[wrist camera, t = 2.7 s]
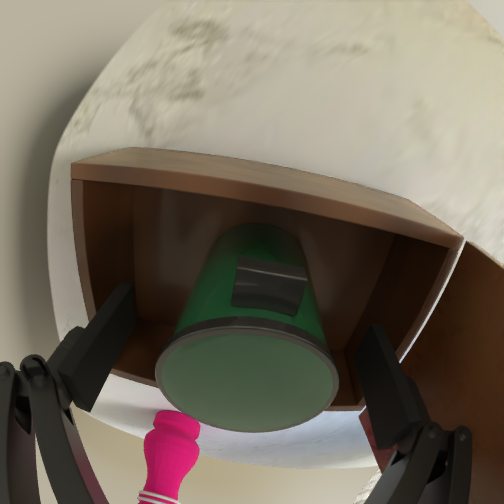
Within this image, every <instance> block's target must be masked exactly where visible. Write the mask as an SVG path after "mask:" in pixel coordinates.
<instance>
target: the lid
mask: <svg viewBox="0 0 504 504" xmlns="http://www.w3.org/2000/svg"><path fill="white" fill-rule="evenodd" d="M400 365H401V368H402V370H403V372H404V375H405V377H407V376H410V377H411V378H412V379H413V380H414V382H415V383H416V385H417V387H418V389H419V393H420V394H421V396H422V399H423V401H424V404H425V406H426V409H427V411H428V414H429V417H430V419H431V421H433V422H437V423H438V424H439V425H440V426H441V427H442V429H443V430H449V431H454V430H455V429H456V428H457V427H459V426H466V427H467V428H468V429H469V430H470V431H471V433H472V472H471V484H470V494H469V501H468V504H504V265H503V264H502V263H500V262H499V261H498V260H496V259H495V258H494V257H493V256H491V255H490V254H489V253H487V252H486V251H485V250H483V249H482V248H480V247H479V246H478V245H476V244H475V243H473V242H469V241H466V243H465V245H464V248H463V250H462V253H461V255H460V257H459V260H458V262H457V264H456V267H455V269H454V271H453V273H452V275H451V277H450V279H449V282H448V284H447V286H446V288H445V290H444V292H443V294H442V296H441V297H440V299H439V301H438V303H437V305H436V307H435V309H434V311H433V312H432V314H431V316H430V318H429V319H428V321H427V323H426V324H425V326H424V328H423V330H422V331H421V333H420V334H419V336H418V338H417V339H416V341H415V342H414V344H413V345H412V347H411V349H410V350H409V352H408V353H407V355H406V356H405V358H404V359H403V360H402V362H401V363H400ZM359 419H360V421H361V424H362V426H363V429H364V431H365V434H366V436H367V438H368V441H369V443H370V446H371V448H372V451H373V453H374V456H375V458H376V461H377V464H378V466H379V469H380V471H381V474H383V472H384V470H385V468H386V467H387V465H388V463H389V461H390V459H391V457H392V456H391V457H390V458H388V459H387V457H388V455H390V454H391V453H392V452H393V451H395V450H396V449H397V448H398V446H397V443H396V444H395V445H394V446H393V447H391V448H390V449H385V450H379V451H377V448H376V443H375V439H374V435H373V431H372V426H371V422H370V418H369V414H368V410H367V407H366V408H365V410H364V411H363V412H362V413H361V414H360V415H359ZM446 466H447V462H446Z"/></svg>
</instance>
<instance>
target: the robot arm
mask: <svg viewBox="0 0 504 504" xmlns="http://www.w3.org/2000/svg"><path fill="white" fill-rule="evenodd" d="M136 324H137V319H136V309H135V298H134V285H133V284H129V283H125V282H120V284H119V285H118V286H117V287H116V289H115V290H114V291H113V292H112V294H111V295H110V296H109V298H108V299H107V300H106V301H105V303H104V304H103V305H102V307H101V308H100V309H99V310H98V312H97V313H96V314H95V316H94V317H93V318H92V320H91V321H90V322H89V324H88V325H87V327H86V328H82V327H79V326H77V327H75V328H73V329H72V330H70V331H69V332H68V334H67V335H66V336H65V337H64V340H62V342H61V343H60V345H59V346H58V347H57V348H56V350H55V351H54V353H53V354H52V355H51V357H50V358H49V360H48V361H47V362H45V360H44V359H43V358H42V357H41V356H39V355H29V356H27V357H25V358H24V359H23V360H22V362H21V364H20V370H21V371H17V370H15V368H14V366H13V365H12V364H11V363H9V362H6V361H5V362H0V504H41V502H40V496H39V488H38V480H37V470H36V450H35V433H36V437H37V441H38V445H39V449H40V453H41V456H42V460H43V463H44V466H45V470H46V473H47V476H48V479H49V481H50V484H51V487H52V490H53V492H54V495H55V497H56V500H57V502H58V504H109V502H108V501H107V499H106V497H105V495H104V493H103V491H102V489H101V487H100V485H99V483H98V480H97V478H96V477H95V474H94V472H93V469H92V467H91V465H90V462H89V460H88V457H87V455H86V452H85V450H84V447H83V444H82V442H81V439H80V436H79V433H78V430H77V427H76V424H75V421H74V417H73V414H72V410H71V408H70V404H71V402H72V400H73V402H74V404H75V405H76V407H78V408H80V409H83V410H85V411H87V412H91V410H92V408H93V405H94V403H95V401H96V399H97V397H98V395H99V393H100V391H101V389H102V387H103V385H104V383H105V381H106V379H107V377H108V375H109V373H110V372H111V370H112V368H113V366H114V364H115V362H116V360H117V358H118V356H119V355H120V353H121V351H122V349H123V347H124V345H125V344H126V342H127V340H128V338H129V336H130V335H131V333H132V331H133V329H134V327H135V326H136ZM353 360H354V364H355V367H356V370H357V374H358V377H359V381H360V384H361V388H362V392H363V395H364V399H365V403H366V407H367V410H368V414H369V418H370V422H371V426H372V431H373V435H374V439H375V443H376V448H377V451H379V450H385V449H390V448H391V447H393V446H394V445H395V444H396V443H397V446H398V448H397V449H396V450H395V451H393V452H392V453H391V454H390V455H388V457H387V459H388V458H390V457H391V456H392V457H391V459H390V461H389V463H388V465H387V467H386V468H385V470H384V472H383V474H382V475H381V477H380V479H379V480H378V482H377V484H376V485H375V487H374V488H373V490H372V492H371V493H370V495H369V496H368V498H367V499H366V501H365V502H364V504H468V501H469V494H470V484H471V472H472V433H471V431H470V430H469V429H468V428H467V427H466V426H459V427H457V428H456V429H455V430H454V431H449V430H443V429H442V427H441V426H440V425H439V424H438V423H437V422H433V421H431V419H430V417H429V414H428V411H427V409H426V406H425V404H424V401H423V399H422V396H421V394H420V393H419V389H418V387H417V385H416V383H415V382H414V380H413V379H412V378H411V377H410V376H407V377H405V375H404V372H403V370H402V368H401V365H400V363H399V361H398V359H397V356H396V354H395V352H394V350H393V347H392V345H391V343H390V341H389V339H388V337H387V334H386V332H385V330H384V328H383V326H382V325H378V324H370V326H369V328H368V330H367V332H366V334H365V336H364V338H363V340H362V342H361V343H360V345H359V347H358V349H357V351H356V352H355V354H354V356H353ZM446 462H447V466H446Z"/></svg>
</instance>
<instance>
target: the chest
mask: <svg viewBox="0 0 504 504" xmlns="http://www.w3.org/2000/svg"><path fill="white" fill-rule="evenodd" d="M71 204H72V219H73V231H74V241H75V249H76V257H77V264H78V270H79V276H80V282H81V287H82V292H83V297H84V302H85V307H86V311H87V315H88V319H89V322H90V321H91V320H92V318H93V317H94V316H95V314H96V313H97V312H98V310H99V309H100V308H101V307H102V305H103V304H104V303H105V301H106V300H107V299H108V298H109V296H110V295H111V294H112V292H113V291H114V290H115V289H116V287H117V286H118V285H119V284H120V282H125V283H129V284H133V285H134V298H135V309H136V319H137V324H136V326H135V327H134V329H133V331H132V333H131V335H130V336H129V338H128V340H127V342H126V344H125V345H124V347H123V349H122V351H121V353H120V355H119V356H118V358H117V360H116V362H115V364H114V366H113V368H112V370H111V372H110V373H111V374H114V375H116V376H119V377H123V378H126V379H129V380H132V381H135V382H139V383H142V384H145V385H149V386H153V387H156V388H159V386H158V384H157V381H156V377H155V366H156V361H157V359H158V356H159V354H160V352H161V349H162V347H163V346H164V344H165V343H166V342H167V340H168V339H170V338H171V337H172V334H173V332H174V329H175V327H176V324H177V322H178V319H179V317H180V315H181V312H182V310H183V307H184V305H185V302H186V300H187V298H188V295H189V293H190V291H191V288H192V286H193V283H194V281H195V279H196V276H197V274H198V272H199V269H200V267H201V265H202V263H203V260H204V258H205V256H206V253H207V251H208V249H209V248H210V246H211V245H212V243H213V242H214V241H215V240H216V239H217V238H218V237H219V236H220V235H221V234H223V233H224V232H226V231H227V230H229V229H231V228H234V227H236V226H240V225H244V224H266V225H270V226H273V227H276V228H279V229H281V230H283V231H284V232H286V233H288V234H289V235H290V236H292V237H293V238H294V239H295V240H296V241H297V242H298V244H299V245H300V246H301V248H302V250H303V252H304V254H305V256H306V259H307V263H308V267H309V270H310V274H311V278H312V282H313V286H314V290H315V293H316V297H317V301H318V305H319V309H320V313H321V318H322V322H323V326H324V330H325V335H326V339H327V343H328V348H329V349H330V351H331V352H332V354H333V355H334V357H335V359H336V362H337V365H338V370H339V375H340V385H339V390H338V392H337V395H336V397H335V398H334V400H333V402H332V403H331V404H330V405H329V406H328V407H327V408H326V409H325V410H324V411H361V410H362V409H363V408H364V407H365V405H366V403H365V399H364V395H363V392H362V388H361V384H360V381H359V377H358V374H357V370H356V367H355V364H354V360H353V356H354V354H355V352H356V351H357V349H358V347H359V345H360V343H361V342H362V340H363V338H364V336H365V334H366V332H367V330H368V328H369V326H370V324H378V325H382V326H383V328H384V330H385V332H386V334H387V337H388V339H389V341H390V343H391V345H392V347H393V350H394V352H395V354H396V356H397V359H398V361H400V359H401V358H402V356H403V355H404V353H405V352H406V350H407V349H408V347H409V346H410V344H411V342H412V341H413V339H414V338H415V336H416V334H417V333H418V331H419V329H420V328H421V326H422V324H423V323H424V321H425V319H426V317H427V316H428V314H429V312H430V310H431V309H432V307H433V305H434V303H435V301H436V299H437V297H438V295H439V293H440V291H441V289H442V287H443V285H444V283H445V281H446V279H447V277H448V275H449V273H450V271H451V268H452V266H453V264H454V262H455V259H456V257H457V255H458V251H459V250H460V247H461V245H462V242H463V240H464V237H463V236H462V235H460V234H459V233H458V232H456V231H455V230H453V229H452V228H451V227H449V226H448V225H446V224H445V223H444V222H442V221H441V220H439V219H438V218H436V217H435V216H433V215H432V214H430V213H429V212H427V211H426V210H424V209H423V208H421V207H420V206H418V205H417V204H415V203H413V202H412V201H410V200H408V199H405V198H402V197H399V196H395V195H392V194H389V193H386V192H382V191H379V190H376V189H372V188H369V187H365V186H362V185H358V184H354V183H350V182H347V181H343V180H339V179H335V178H331V177H327V176H323V175H318V174H314V173H310V172H305V171H301V170H296V169H291V168H286V167H281V166H276V165H271V164H266V163H260V162H255V161H249V160H243V159H237V158H230V157H223V156H216V155H209V154H201V153H193V152H185V151H175V150H165V149H154V148H140V147H130V148H125V149H121V150H117V151H113V152H109V153H105V154H101V155H97V156H94V157H90V158H86V159H83V160H80V161H76V162H73V163H71Z"/></svg>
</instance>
